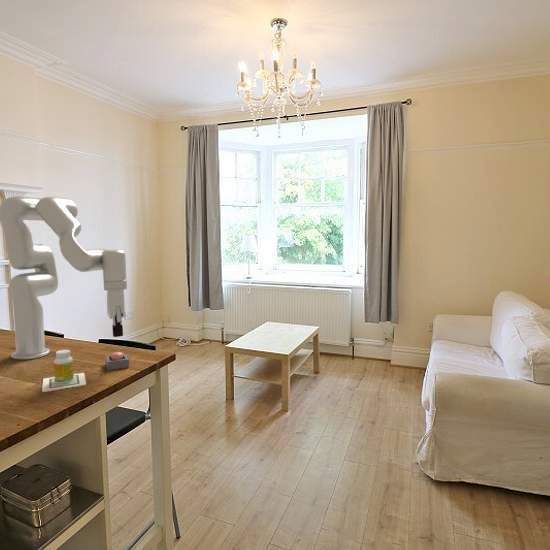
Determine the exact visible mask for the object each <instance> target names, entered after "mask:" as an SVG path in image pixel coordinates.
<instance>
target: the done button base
mask: <svg viewBox="0 0 550 550" xmlns="http://www.w3.org/2000/svg"><path fill="white" fill-rule="evenodd" d="M105 366H106V368H107V369H106V370H107V371H113V369H115V370H120V369H119V368H122V369H128V368H130V359H129V357H128V355H127V353H123V359H121V360H113V361H111V355H106V356H105Z"/></svg>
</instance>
